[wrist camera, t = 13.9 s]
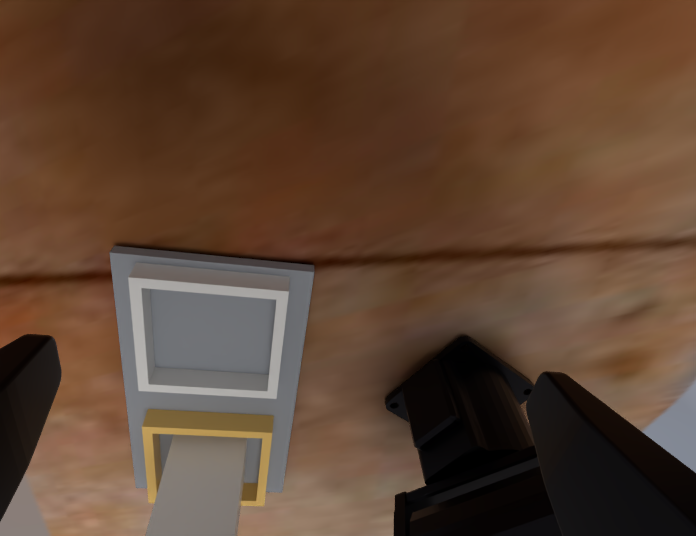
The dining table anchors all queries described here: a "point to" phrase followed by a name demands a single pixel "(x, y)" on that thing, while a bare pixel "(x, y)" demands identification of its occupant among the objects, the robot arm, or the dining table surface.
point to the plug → (200, 487)
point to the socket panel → (210, 356)
